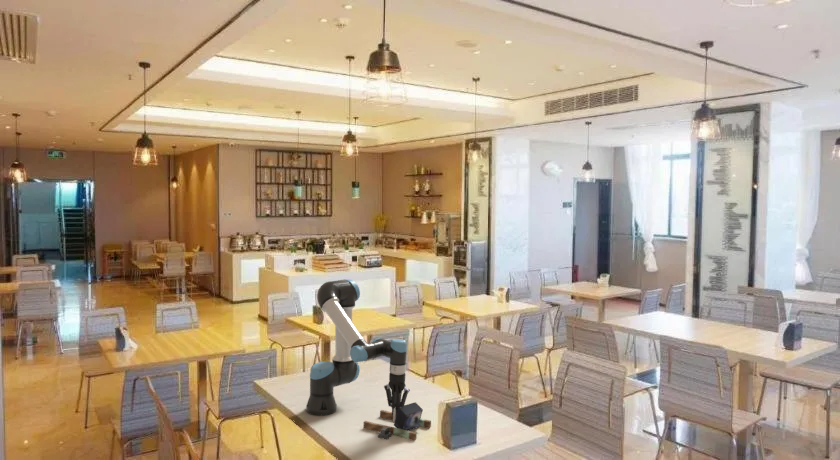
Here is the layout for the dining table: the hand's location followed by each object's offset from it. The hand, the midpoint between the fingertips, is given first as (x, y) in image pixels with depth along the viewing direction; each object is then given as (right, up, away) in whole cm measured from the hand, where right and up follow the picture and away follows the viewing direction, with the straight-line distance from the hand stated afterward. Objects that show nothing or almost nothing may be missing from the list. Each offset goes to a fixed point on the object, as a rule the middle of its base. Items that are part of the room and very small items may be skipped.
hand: (395, 421), depth 273 cm
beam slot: (+1, -3, +1) cm, 3 cm away
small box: (+5, -2, 0) cm, 5 cm away
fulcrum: (-4, -4, -10) cm, 12 cm away
